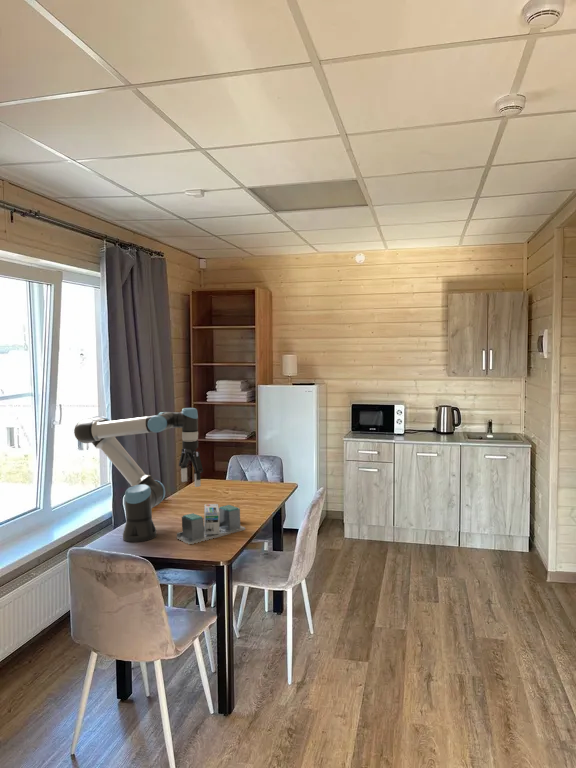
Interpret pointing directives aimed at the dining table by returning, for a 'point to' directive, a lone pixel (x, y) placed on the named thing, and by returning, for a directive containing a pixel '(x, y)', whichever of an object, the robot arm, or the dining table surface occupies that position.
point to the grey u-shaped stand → (195, 525)
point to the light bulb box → (211, 519)
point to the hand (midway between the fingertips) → (190, 484)
